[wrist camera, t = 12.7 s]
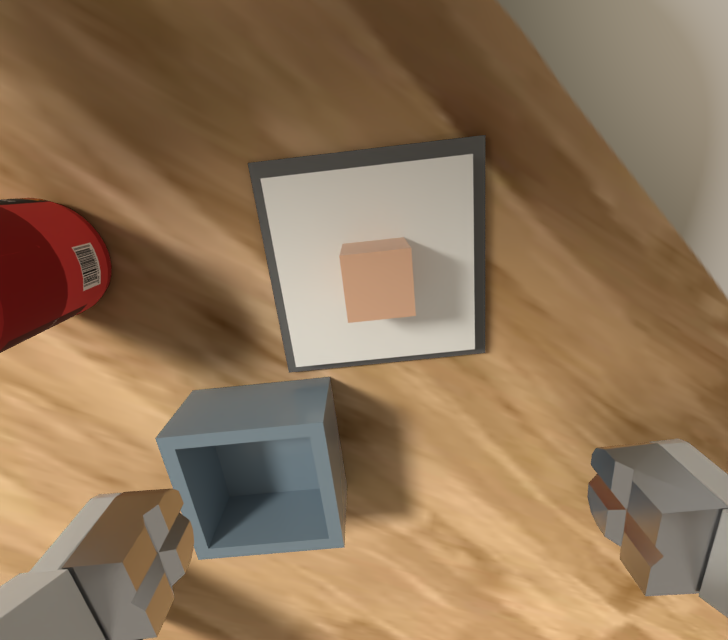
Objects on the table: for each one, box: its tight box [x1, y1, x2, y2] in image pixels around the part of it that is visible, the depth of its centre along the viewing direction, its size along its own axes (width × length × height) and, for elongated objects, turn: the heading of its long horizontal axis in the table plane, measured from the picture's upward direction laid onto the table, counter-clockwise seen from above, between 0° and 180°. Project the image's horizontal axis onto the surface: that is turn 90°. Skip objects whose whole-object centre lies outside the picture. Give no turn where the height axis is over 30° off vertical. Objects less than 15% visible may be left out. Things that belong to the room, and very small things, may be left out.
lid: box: [261, 154, 475, 367], centre depth 25 cm, size 13×13×5 cm
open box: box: [155, 377, 347, 560], centre depth 30 cm, size 11×11×6 cm
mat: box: [248, 135, 485, 372], centre depth 27 cm, size 15×15×1 cm
